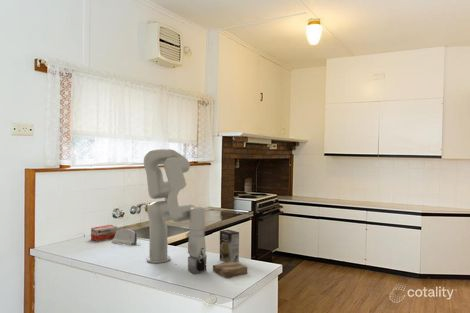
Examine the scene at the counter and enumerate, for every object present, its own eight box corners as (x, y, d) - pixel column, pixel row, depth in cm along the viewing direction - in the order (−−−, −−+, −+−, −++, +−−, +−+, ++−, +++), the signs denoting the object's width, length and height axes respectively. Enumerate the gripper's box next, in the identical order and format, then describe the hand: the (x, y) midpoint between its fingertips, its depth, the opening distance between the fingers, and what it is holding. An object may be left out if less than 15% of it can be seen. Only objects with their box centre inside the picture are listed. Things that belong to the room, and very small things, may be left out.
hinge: (111, 242, 228) (114, 227, 231) (116, 243, 232) (119, 228, 235) (131, 245, 221) (135, 229, 224) (136, 246, 225) (139, 230, 228)
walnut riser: (212, 271, 173) (212, 264, 173) (232, 266, 180) (232, 260, 180) (226, 278, 163) (226, 271, 163) (247, 273, 170) (247, 266, 170)
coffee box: (219, 260, 190) (219, 230, 190) (227, 258, 195) (227, 229, 195) (230, 264, 184) (230, 233, 184) (239, 261, 188) (239, 231, 188)
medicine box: (96, 241, 231) (96, 229, 231) (90, 239, 237) (90, 227, 236) (117, 237, 242) (117, 226, 242) (111, 235, 248) (111, 224, 248)
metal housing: (187, 271, 174) (187, 256, 174) (200, 268, 178) (200, 254, 178) (193, 274, 169) (193, 259, 169) (206, 271, 173) (206, 257, 173)
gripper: (182, 230, 178) (182, 265, 178) (199, 236, 164) (199, 274, 164) (195, 228, 182) (195, 262, 183) (213, 234, 168) (213, 271, 168)
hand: (197, 268), depth 173 cm, fingers open, 7 cm apart
